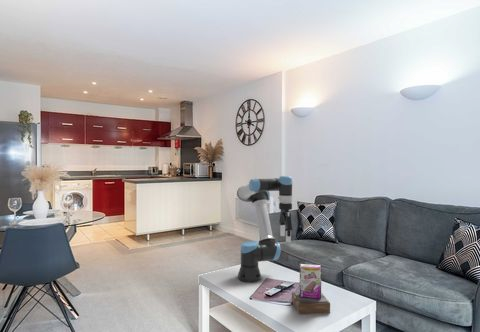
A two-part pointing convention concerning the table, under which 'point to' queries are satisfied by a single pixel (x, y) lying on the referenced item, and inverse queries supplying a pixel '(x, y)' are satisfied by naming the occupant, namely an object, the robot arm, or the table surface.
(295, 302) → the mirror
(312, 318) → the table surface
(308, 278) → the candy bar box
